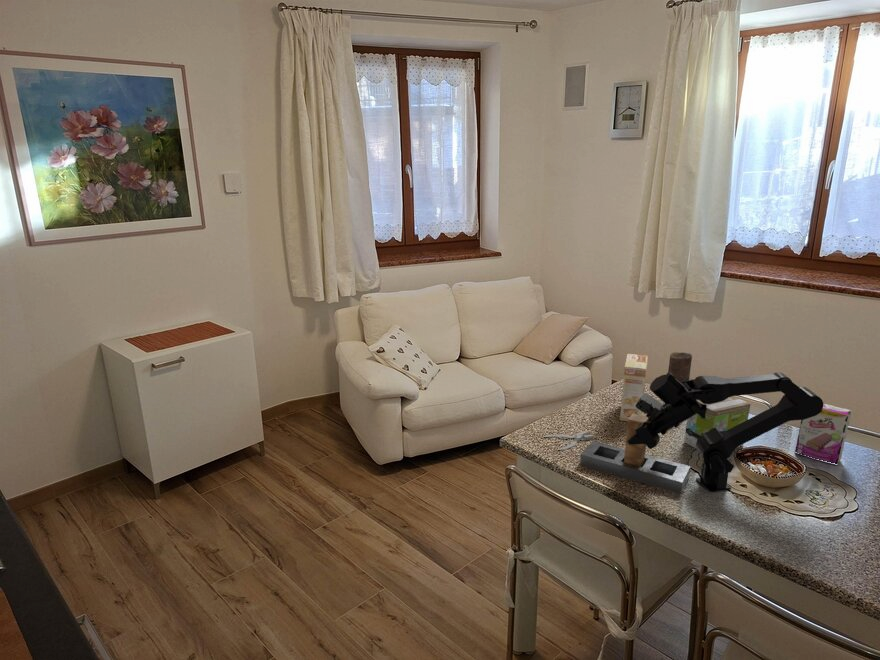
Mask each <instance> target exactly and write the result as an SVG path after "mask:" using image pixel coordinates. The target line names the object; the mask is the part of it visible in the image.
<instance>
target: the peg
mask: <svg viewBox="0 0 880 660" xmlns="http://www.w3.org/2000/svg"><path fill="white" fill-rule="evenodd" d="M644 422H646V423H648V422H649V419H648V417H646V415H642V416H641V415H637V414H632V415H631V416H630V417H629V419H628V421H627V426H626V434H625V435H626V436H625V447H624V449H625V456H624V463H627V464H631V465H634V466H638V467H642V465H643V464H644V460H645V455H646V451H647V449H646V448H647V446H646V444H632V445H630V444H629V443H628V440H629V439H630V438H631V437H633V436H634V435H635V434H636V429H637V427H638V426H639V424H640V423H641V424H642V423H644Z"/></svg>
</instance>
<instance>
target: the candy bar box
mask: <svg viewBox="0 0 880 660" xmlns="http://www.w3.org/2000/svg"><path fill="white" fill-rule="evenodd" d="M851 416H852V410H851V409H848V408H844V407H840V406H835V405H831V404H826V403H823V408H822V412H821V413H820V414H818V415H816V416H813V417H810V418H807V419H804V420H800V424H799V425H800V426H799V430H798V435H797V439H796V445H795V449H794V453H795V452H797V453H799V454H802V455H806V456H809V457H812V458H815V459H819V460H823V461H827V462H831V463H835V464H839V463H840V462H841V461H842V455H843V451H844V447H845V446H844V445H845V442H846V437H847V433H848V429H849V424H850V419H851ZM802 455H801V456H802ZM812 458H811V459H812ZM815 459H814V460H815ZM839 461H840V462H839ZM838 462H839V463H838Z"/></svg>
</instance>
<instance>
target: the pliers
mask: <svg viewBox="0 0 880 660" xmlns="http://www.w3.org/2000/svg"><path fill="white" fill-rule="evenodd" d="M544 437H551V438H557V437H559V438H561V439H560V440H563V439H567V440H566V441H567V442H566V446H563V447H560V448H556V449H555V450H562V451H565V450H564V449H567V450H569V449H568V448H570V449H572V448H574V447H576V446H577V444H578V443H580V442H581V441H580V440H583V441H589V440H590V441H591V440H594V435H593V434H590V431H589V430H585V431H581V432H577V433H575V435H568V434H559V433H558V434H548V435H543V436H541V438H542V439H545V438H544ZM562 437H565V438H562ZM559 438H558V439H559ZM568 438H574V439H573V440H572V441H571V439H570V440H569V439H568ZM570 442H571V443H570ZM577 442H578V443H577ZM573 446H574V447H573ZM571 447H572V448H571Z"/></svg>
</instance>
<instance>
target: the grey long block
mask: <svg viewBox="0 0 880 660" xmlns="http://www.w3.org/2000/svg"><path fill="white" fill-rule="evenodd" d="M624 456H625V448H622V447H618V446H614V445H610V444H606V443H603V442H598V441H595V440H592V441H591V442H590V443H589V444H588V445H587V446H586V448H584V450H583V451H582V452H581V453H580V456H579V457H580V458H579V460H580V461H579V466H581V465H582V467H585V466H586V468H588V469H592V470H596V471H599V472H603V473H607V474H610V475H614V476H616V477H621V478H624V479H627V480H630V481H634V482H636V483H641V484H645V485H648V486H651V487H655V488H659V489H662V490H665V491H669V492H672V493H676V494H679V495H681V494H682V493H683V491H684V489H685V487H686V485H687V482H688V481H689V479H690V472H691V465H687V464H683V463H679V462H675V461H672V460H667V459H663V458H661V457H660V458H659V457H656V456H652V455H648V454H645V460H644V464H643V465H642V467H638V466H634V465H631V464H627V463H624Z"/></svg>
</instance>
